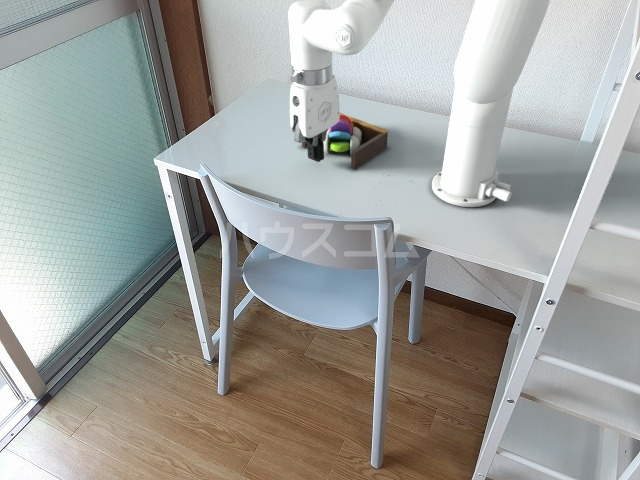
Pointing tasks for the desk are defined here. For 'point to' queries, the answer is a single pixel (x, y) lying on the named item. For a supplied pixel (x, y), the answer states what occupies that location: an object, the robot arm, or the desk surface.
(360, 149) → the garage
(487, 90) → the robot arm
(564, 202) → the desk surface
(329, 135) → the rainbow white-wheeled buggy
